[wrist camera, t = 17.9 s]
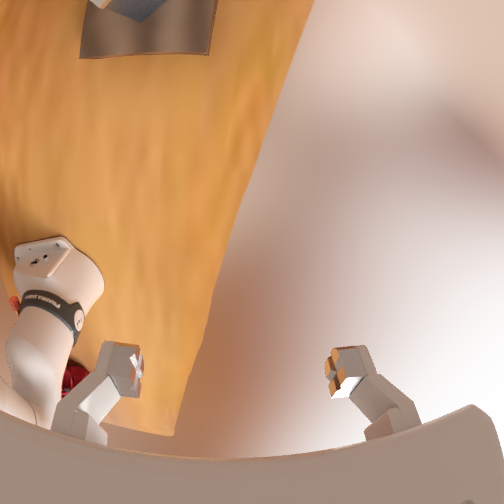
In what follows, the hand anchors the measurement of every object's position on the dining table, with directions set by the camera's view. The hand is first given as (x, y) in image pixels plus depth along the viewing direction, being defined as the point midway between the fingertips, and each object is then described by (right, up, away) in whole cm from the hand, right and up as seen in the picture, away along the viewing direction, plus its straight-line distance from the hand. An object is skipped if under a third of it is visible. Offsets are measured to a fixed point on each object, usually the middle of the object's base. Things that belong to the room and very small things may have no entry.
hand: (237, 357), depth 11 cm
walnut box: (-12, +36, +14) cm, 41 cm away
